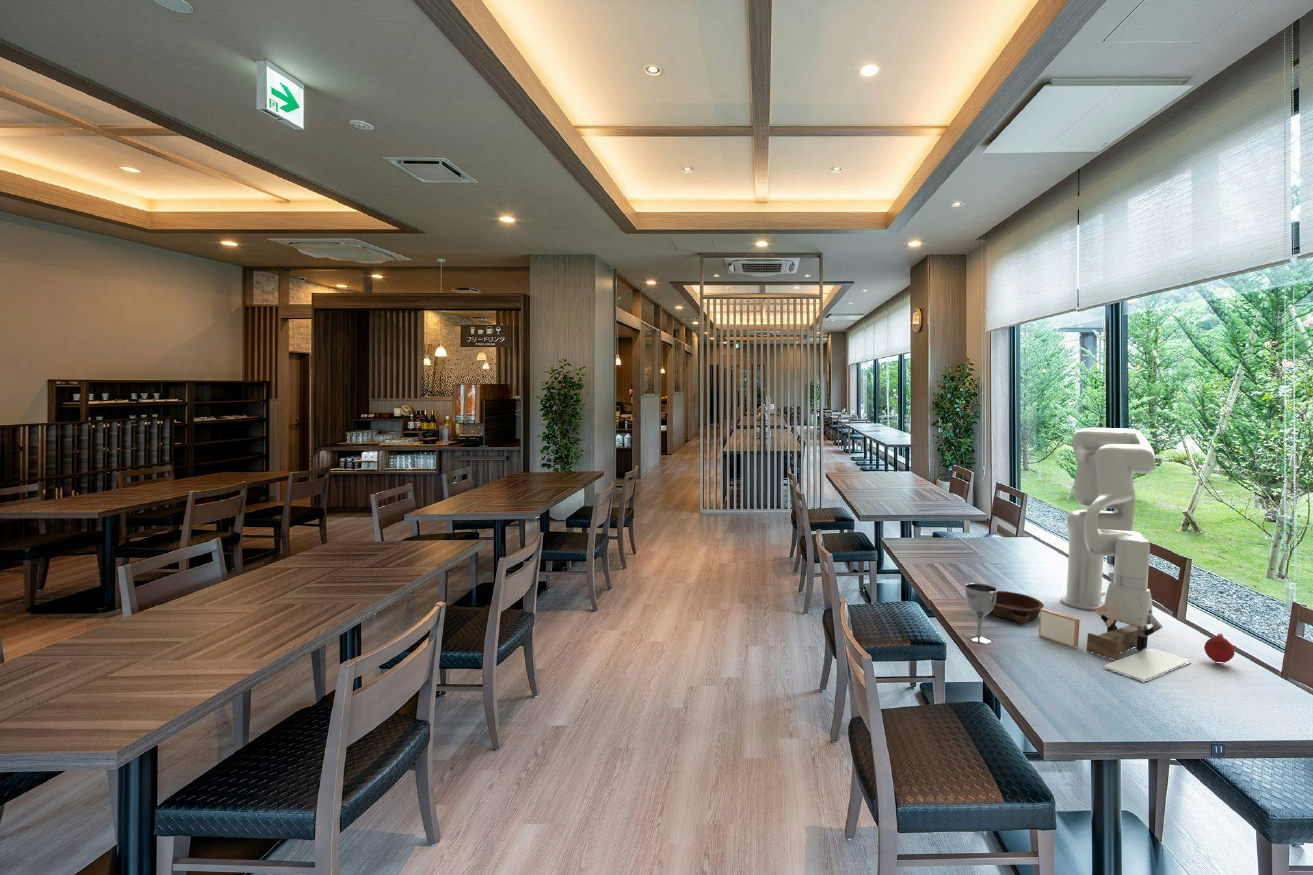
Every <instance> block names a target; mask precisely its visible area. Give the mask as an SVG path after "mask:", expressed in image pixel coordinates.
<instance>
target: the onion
mask: <svg viewBox="0 0 1313 875" xmlns="http://www.w3.org/2000/svg"><path fill="white" fill-rule="evenodd" d="M1203 647H1204V652H1205V654H1206V655H1207V657H1208V658H1209V659H1210V660H1212V661H1213V662H1214V661H1215V662H1224V663H1227V662H1229V661H1230V660H1232V659H1233V658H1234V656H1235V647H1234V646H1233V644H1232V643H1231V642H1230V641H1229V640H1228V639H1226V638H1225V637H1224V634H1223V633H1221V632H1220V633H1217V635H1216V636H1213V637H1211V638H1209V639H1208V640H1206V642H1205V643H1204V646H1203ZM1215 662H1214V663H1215Z"/></svg>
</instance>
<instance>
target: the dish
mask: <svg viewBox="0 0 1313 875" xmlns="http://www.w3.org/2000/svg"><path fill="white" fill-rule="evenodd" d="M1044 607H1045V604H1044V603H1043V602H1042V601H1040V600H1039V599H1037V598H1035V597H1032V596H1030V595H1026V594H1024V593H1023V594H1022V593H1019V592H1013V591H1012V592H1011V591H1007V590H1006V591H1004V590H997V599H996V603H995V606H994V608H993V610H992V611H991V612H990V613H989V614H992V615H994V616H997V617H999V618H1002V619H1006V620H1007V619H1008V620H1012V621H1015V622H1018V623H1027V622H1029V621H1033V620H1035V619H1037V618H1038V617H1039V616H1040V609H1042V608H1043V609H1044Z"/></svg>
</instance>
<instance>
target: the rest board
mask: <svg viewBox="0 0 1313 875" xmlns="http://www.w3.org/2000/svg"><path fill="white" fill-rule="evenodd" d="M1190 661H1191V662H1192V660H1191V659H1188V658H1184V657H1182V656H1179V655H1175V654H1172V653H1169V652H1165V651H1163V650H1162V651H1161V650H1158V649H1156V648H1152V647H1149V648H1145V649H1144V650H1141V651H1139V652H1135V653H1133V654H1130V655H1128V656H1126V657H1122V658H1120V659H1118V660H1117V661H1114V660H1113V661H1111V662H1109V663H1107V664H1103V666H1102V667H1103V668H1106V669H1109V670H1111V671H1110V672H1112V671H1116V672H1118V673H1121V674H1123V675H1127V676H1130V677H1131V678H1136V679H1138V680H1142V681H1146V680H1149V679H1151V678H1154V677H1155V676H1157V675H1161V674H1163V673H1166V672H1167V671H1170V670H1172V669H1175V668H1177V667H1180V666H1181V665H1184V664H1186V663H1187V662H1190ZM1106 669H1105V670H1106ZM1109 670H1108V671H1109ZM1123 675H1122V676H1123ZM1131 678H1130V679H1131Z"/></svg>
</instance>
